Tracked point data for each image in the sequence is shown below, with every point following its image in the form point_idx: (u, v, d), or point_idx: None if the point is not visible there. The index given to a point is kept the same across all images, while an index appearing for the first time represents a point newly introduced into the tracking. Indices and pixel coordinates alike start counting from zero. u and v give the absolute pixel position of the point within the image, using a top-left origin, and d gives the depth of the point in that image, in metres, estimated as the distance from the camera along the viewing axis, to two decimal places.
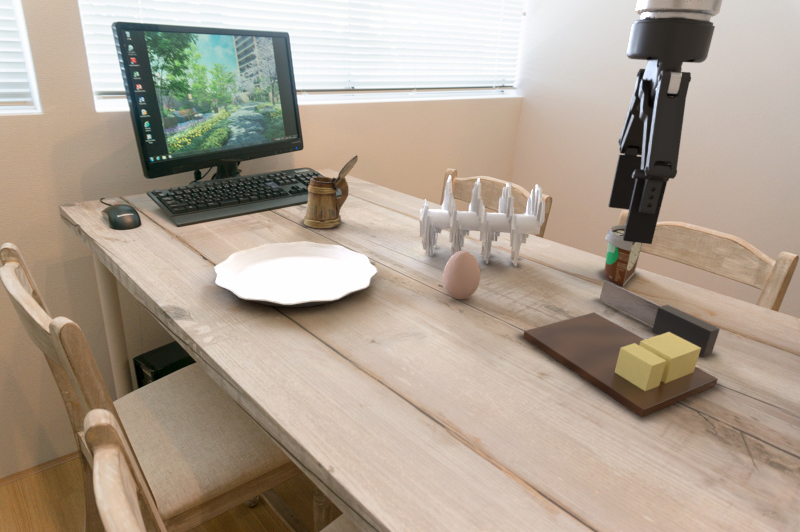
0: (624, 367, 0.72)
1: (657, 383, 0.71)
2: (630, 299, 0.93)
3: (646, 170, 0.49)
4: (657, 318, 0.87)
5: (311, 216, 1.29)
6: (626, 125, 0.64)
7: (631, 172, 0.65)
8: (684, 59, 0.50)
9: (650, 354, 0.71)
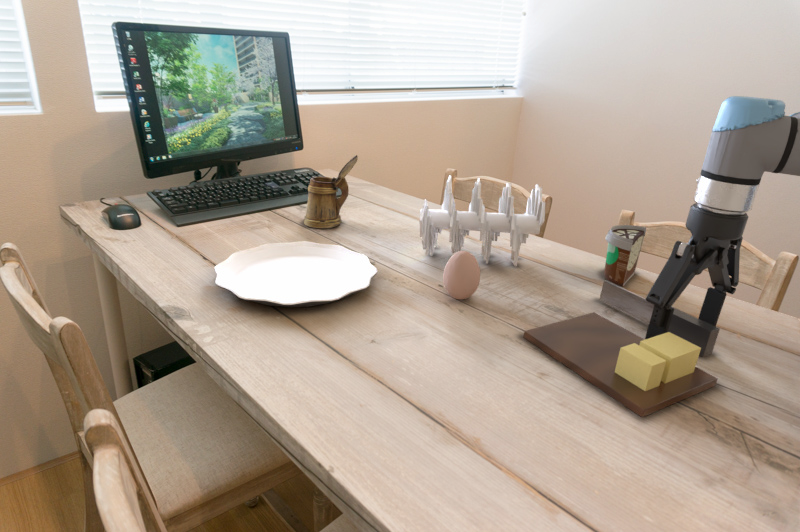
0: (624, 367, 0.72)
1: (657, 383, 0.71)
2: (630, 299, 0.93)
3: None
4: None
5: (311, 216, 1.29)
6: None
7: (714, 302, 0.86)
8: (705, 236, 0.76)
9: (650, 354, 0.71)
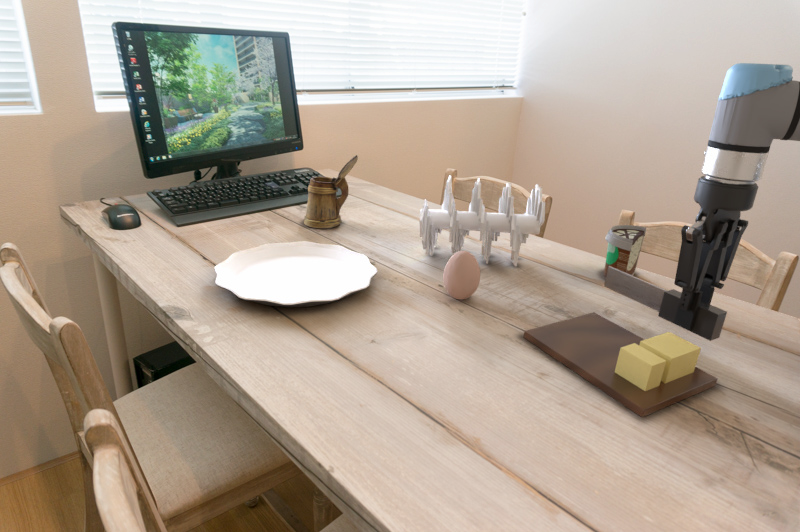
0: (624, 367, 0.72)
1: (657, 383, 0.71)
2: (635, 285, 0.92)
3: (675, 282, 0.80)
4: (663, 303, 0.86)
5: (311, 216, 1.29)
6: None
7: (702, 298, 0.83)
8: (714, 208, 0.74)
9: (650, 354, 0.71)
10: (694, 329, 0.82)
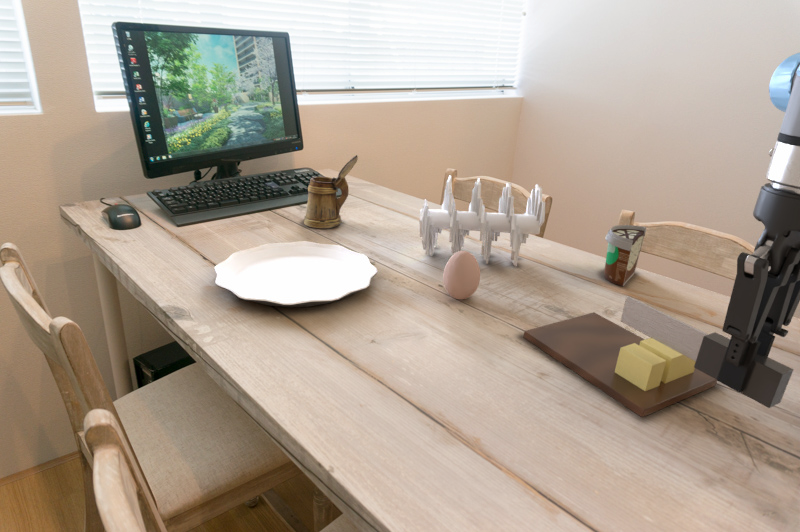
0: (624, 367, 0.72)
1: (657, 383, 0.71)
2: (662, 323, 0.70)
3: None
4: (702, 351, 0.65)
5: (311, 216, 1.29)
6: None
7: (757, 348, 0.61)
8: (786, 229, 0.53)
9: (650, 354, 0.71)
10: (746, 390, 0.61)
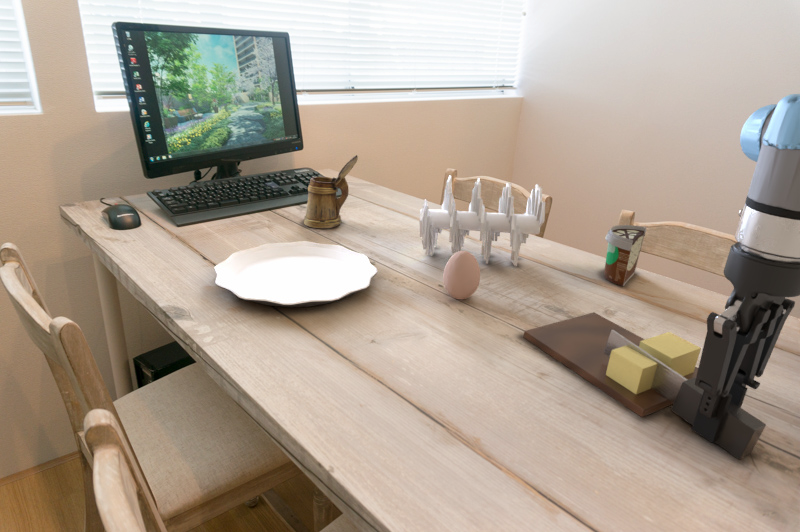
0: (615, 370, 0.72)
1: (649, 386, 0.70)
2: None
3: None
4: (679, 395, 0.66)
5: (311, 216, 1.29)
6: None
7: (730, 398, 0.63)
8: (754, 292, 0.54)
9: (641, 357, 0.70)
10: (718, 439, 0.62)
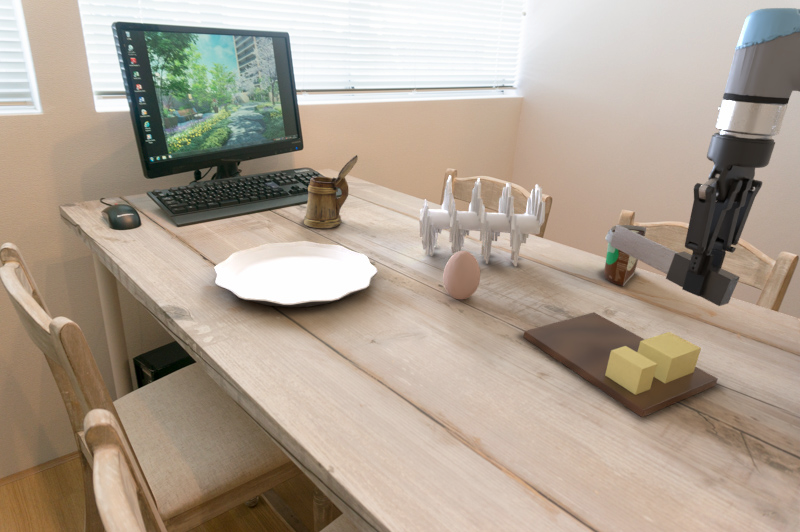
0: (614, 370, 0.71)
1: (648, 386, 0.70)
2: (644, 245, 0.88)
3: None
4: (672, 265, 0.83)
5: (311, 216, 1.29)
6: None
7: (713, 262, 0.80)
8: (729, 164, 0.71)
9: (641, 357, 0.70)
10: (703, 293, 0.79)
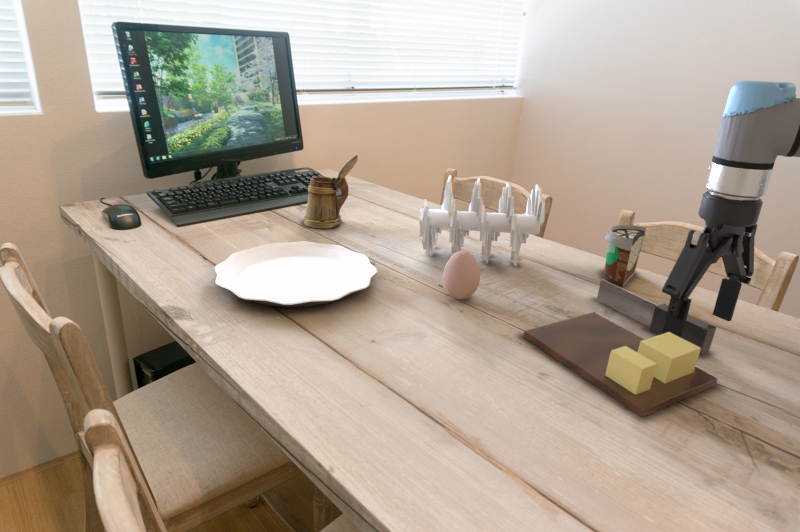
0: (614, 370, 0.71)
1: (648, 386, 0.70)
2: (627, 298, 0.93)
3: (663, 289, 0.78)
4: (654, 317, 0.88)
5: (311, 216, 1.29)
6: None
7: (730, 293, 0.85)
8: (719, 223, 0.75)
9: (641, 357, 0.70)
10: None
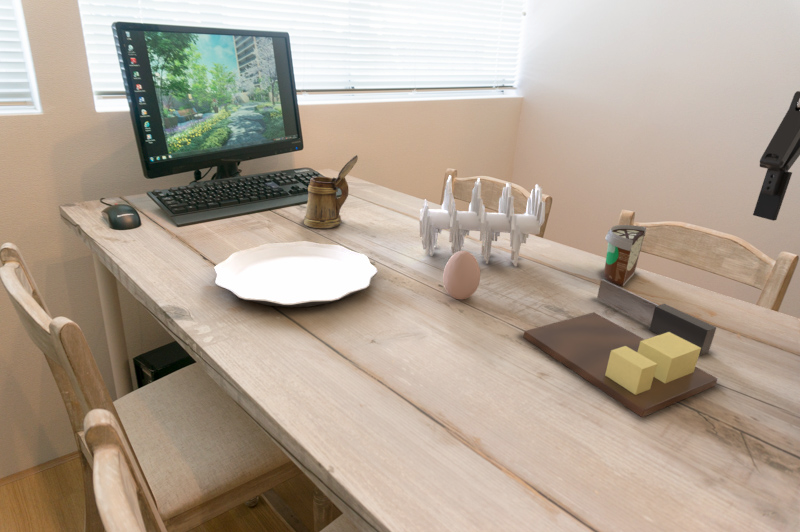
0: (614, 370, 0.71)
1: (648, 386, 0.70)
2: (627, 298, 0.93)
3: None
4: (654, 317, 0.88)
5: (311, 216, 1.29)
6: None
7: None
8: None
9: (641, 357, 0.70)
10: None
